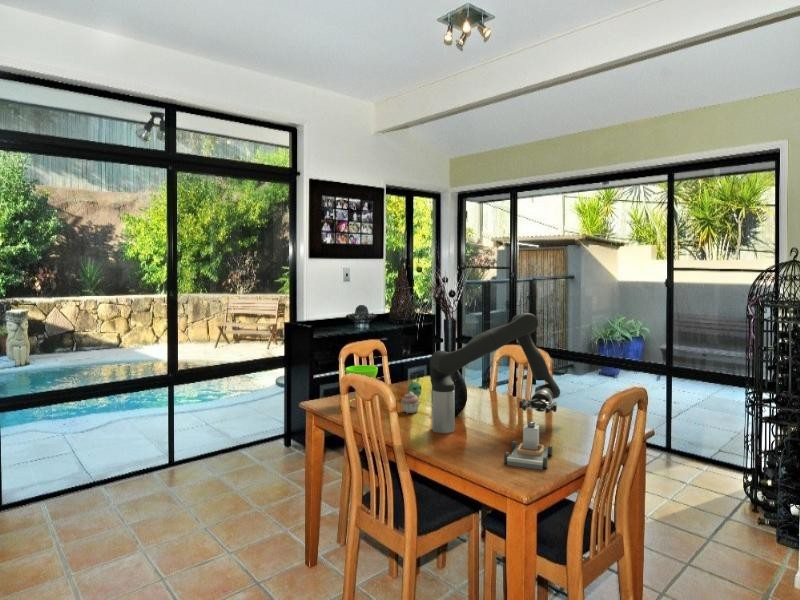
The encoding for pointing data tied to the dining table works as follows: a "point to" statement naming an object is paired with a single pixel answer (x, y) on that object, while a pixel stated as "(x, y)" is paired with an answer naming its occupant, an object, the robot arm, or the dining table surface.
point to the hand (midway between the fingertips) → (535, 409)
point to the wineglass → (363, 370)
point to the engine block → (531, 436)
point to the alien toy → (415, 388)
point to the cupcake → (410, 403)
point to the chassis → (528, 456)
